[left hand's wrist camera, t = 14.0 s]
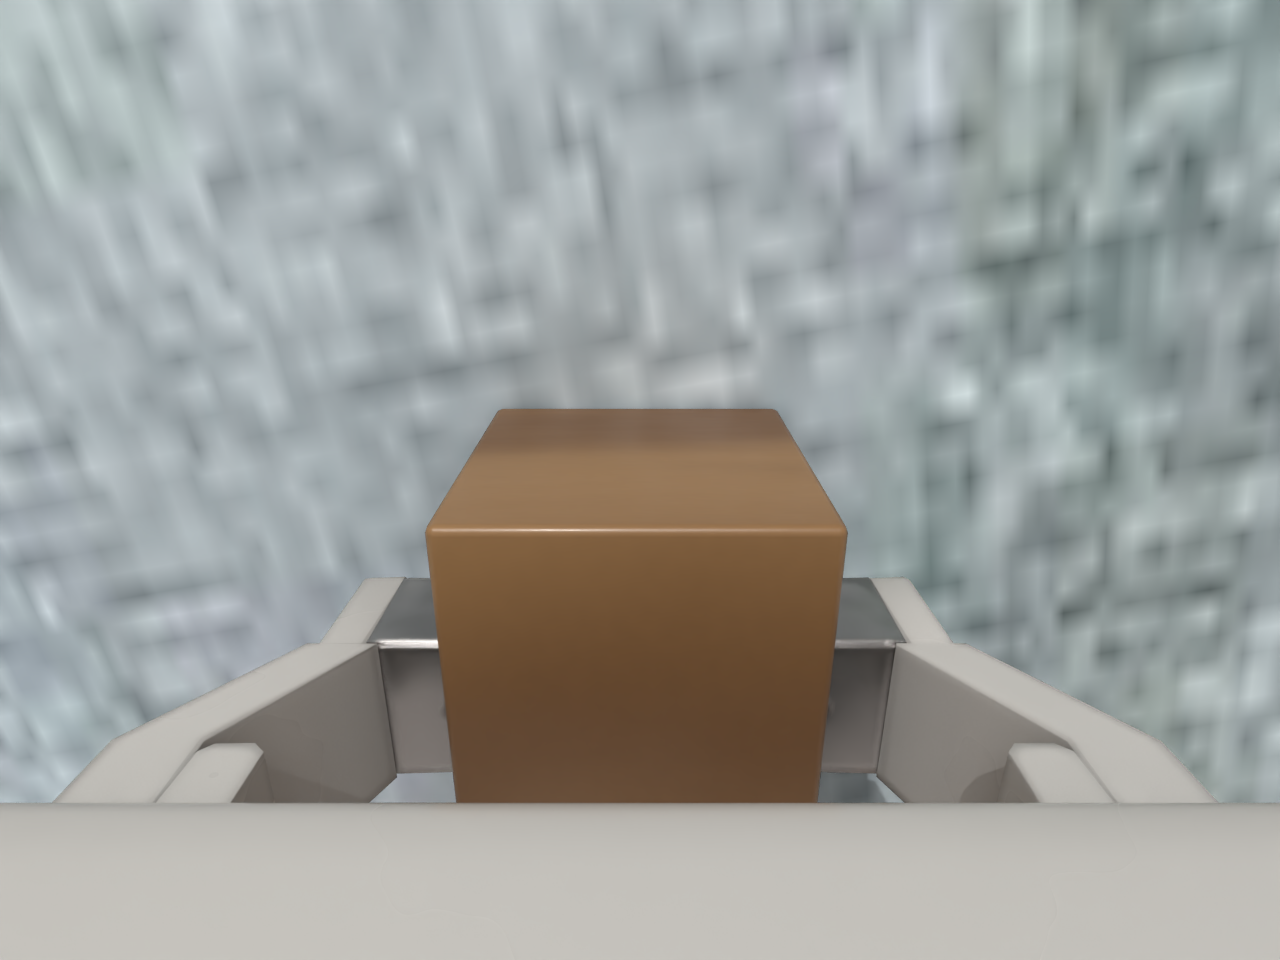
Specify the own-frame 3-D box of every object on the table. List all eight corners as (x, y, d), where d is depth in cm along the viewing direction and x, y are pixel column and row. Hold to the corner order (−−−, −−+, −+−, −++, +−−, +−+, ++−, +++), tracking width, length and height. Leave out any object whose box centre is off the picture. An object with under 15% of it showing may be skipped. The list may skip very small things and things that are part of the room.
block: (497, 407, 11) (421, 527, 7) (778, 407, 11) (851, 527, 7) (518, 702, 13) (466, 921, 9) (757, 702, 13) (806, 920, 9)
